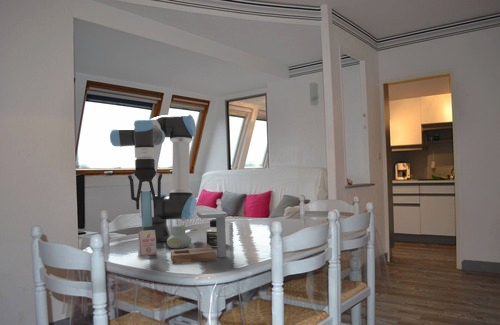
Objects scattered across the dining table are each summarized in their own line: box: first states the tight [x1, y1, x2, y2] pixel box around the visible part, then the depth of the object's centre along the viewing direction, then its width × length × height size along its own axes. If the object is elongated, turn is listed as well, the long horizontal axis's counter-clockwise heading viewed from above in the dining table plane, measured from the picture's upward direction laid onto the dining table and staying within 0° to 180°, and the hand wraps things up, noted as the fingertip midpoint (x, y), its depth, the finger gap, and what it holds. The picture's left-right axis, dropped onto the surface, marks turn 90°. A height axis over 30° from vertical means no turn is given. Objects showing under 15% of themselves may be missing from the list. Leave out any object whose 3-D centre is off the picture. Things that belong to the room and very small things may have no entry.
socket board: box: [170, 246, 216, 265], centre depth 153 cm, size 12×16×3 cm
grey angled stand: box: [196, 209, 229, 258], centre depth 155 cm, size 14×10×18 cm
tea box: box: [137, 230, 157, 257], centre depth 165 cm, size 4×7×10 cm, turn 115°
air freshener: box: [166, 224, 192, 250], centre depth 179 cm, size 11×8×10 cm
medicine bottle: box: [205, 218, 228, 248], centre depth 181 cm, size 7×7×12 cm
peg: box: [140, 190, 152, 228], centre depth 158 cm, size 4×4×14 cm
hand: (146, 216), depth 157 cm, fingers closed on peg, 4 cm apart
